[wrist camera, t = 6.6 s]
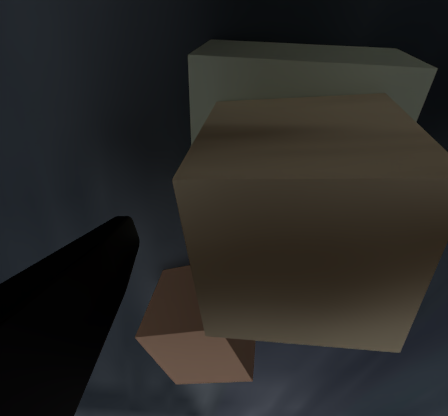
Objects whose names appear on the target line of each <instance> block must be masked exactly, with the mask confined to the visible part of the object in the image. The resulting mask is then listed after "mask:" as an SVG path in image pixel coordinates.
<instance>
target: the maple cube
mask: <svg viewBox="0 0 448 416" xmlns="http://www.w3.org/2000/svg"><path fill="white" fill-rule="evenodd" d="M172 182H173V187H174V191H175V196H176V201H177V206H178V210H179V215H180V220H181V224H182V229H183V234H184V238H185V243H186V248H187V252H188V257H189V262H190V267H191V271H192V276H193V281H194V285H195V290H196V295H197V299H198V304H199V309H200V314H201V318H202V323H203V328H204V332H205V336H208V337H220V338H232V339H244V340H255V341H267V342H279V343H291V344H303V345H314V346H326V347H338V348H350V349H362V350H373V351H385V352H397V353H400V351H401V349H402V347H403V344H404V342H405V340H406V337H407V335H408V333H409V330H410V328H411V326H412V323H413V321H414V319H415V316H416V314H417V312H418V309H419V307H420V305H421V302H422V300H423V298H424V295H425V293H426V291H427V288H428V286H429V284H430V281H431V279H432V277H433V274H434V272H435V270H436V267H437V265H438V263H439V260H440V258H441V256H442V253H443V251H444V249H445V246H446V244H447V242H448V152H447V151H446V150H445V149H444V148H443V147H442V146H441V145H440V144H439V143H438V142H437V141H435V140H434V139H433V138H432V137H431V136H430V135H429V134H428V133H427V132H426V131H425V130H424V129H423V128H422V127H421V126H420V125H419V124H418V123H417V122H416V121H414V120H413V119H412V118H411V117H410V116H409V115H408V114H407V113H406V112H405V111H404V110H403V109H402V108H401V107H400V106H399V105H398V104H397V103H396V102H395V101H393V100H392V99H391V98H390V97H389V96H388V95H387V94H386V93H377V94H357V95H337V96H318V97H298V98H278V99H258V100H238V101H218V102H216V104H215V105H214V107H213V109H212V111H211V112H210V114H209V116H208V118H207V119H206V121H205V123H204V125H203V126H202V128H201V130H200V132H199V133H198V135H197V137H196V139H195V140H194V142H193V144H192V146H191V147H190V149H189V151H188V153H187V154H186V156H185V158H184V159H183V161H182V163H181V165H180V166H179V168H178V170H177V172H176V173H175V175H174V177H173V179H172Z"/></svg>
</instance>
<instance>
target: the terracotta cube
mask: <svg viewBox="0 0 448 416" xmlns="http://www.w3.org/2000/svg"><path fill="white" fill-rule="evenodd" d="M135 338H136V339H137V341H138V342H139V343H140V344H141V345H142V346H143V347H144V348H145V350H146V351H147V352H148V353H149V354H150V355H151V356H152V358H153V359H154V360H155V361H156V362H157V363H158V364H159V366H160V367H161V368H162V369H163V370H164V371H165V372H166V373H167V375H168V376H169V377H170V378H171V379H172V380H173V381H174V383H175V384H196V383H221V382H246V381H253V369H254V355H255V340H244V339H232V338H220V337H208V336H205V332H204V328H203V323H202V318H201V314H200V309H199V304H198V299H197V295H196V290H195V285H194V281H193V276H192V271H191V267H190V265H189V266H183V267H178V268H172V269H167V270H163V272H162V274H161V276H160V279H159V281H158V284H157V286H156V288H155V291H154V293H153V295H152V298H151V300H150V303H149V305H148V307H147V310H146V312H145V315H144V317H143V319H142V322H141V324H140V327H139V329H138V331H137V334H136V336H135Z"/></svg>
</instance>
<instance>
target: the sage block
mask: <svg viewBox="0 0 448 416" xmlns="http://www.w3.org/2000/svg"><path fill="white" fill-rule="evenodd" d="M437 69H438V68H436V67H434V66H432V65H430V64H427V63H425V62H423V61H421V60H419V59H417V58H415V57H413V56H411V55H409V54H407V53H405V52H403V51H401V50H399V49H396V48H377V47H356V46H336V45H315V44H295V43H274V42H254V41H233V40H213V39H211V40H209V41H208V42H206V43H205V44H203V45H202V46H200V47H199V48H197V49H196V50H194V51H193V52H191V53H190V54H188V73H189V99H190V124H191V146H192V144H193V142H194V140H195V139H196V137H197V135H198V133H199V132H200V130H201V128H202V126H203V125H204V123H205V121H206V119H207V118H208V116H209V114H210V112H211V111H212V109H213V107H214V105H215V104H216V102H218V101H238V100H258V99H278V98H298V97H318V96H337V95H357V94H377V93H386V94H387V95H388V96H389V97H390V98H391V99H392V100H393V101H395V102H396V103H397V104H398V105H399V106H400V107H401V108H402V109H403V110H404V111H405V112H406V113H407V114H408V115H409V116H410V117H411V118H412V119H413V120H414V121H416V122H417V119H418V117H419V114H420V112H421V109H422V107H423V104H424V102H425V99H426V97H427V94H428V92H429V89H430V87H431V84H432V82H433V79H434V77H435V74H436V72H437Z"/></svg>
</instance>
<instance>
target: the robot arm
mask: <svg viewBox="0 0 448 416" xmlns="http://www.w3.org/2000/svg"><path fill="white" fill-rule="evenodd" d="M138 248H139V236H138V234H137V231H136V228H135V225H134V222H133V220H132V218H131V217H129V216H116V217H114V218H112V219H111V220H109V221H107V222H106V223H104V224H102V225H100V226H99V227H97V228H95V229H94V230H92V231H90V232H88V233H87V234H85V235H83V236H82V237H80V238H78V239H76V240H75V241H73V242H71V243H70V244H68V245H66V246H64V247H63V248H61V249H59V250H58V251H56V252H54V253H52V254H51V255H49V256H47V257H46V258H44V259H42V260H40V261H39V262H37V263H35V264H34V265H32V266H30V267H28V268H27V269H25V270H23V271H22V272H20V273H18V274H16V275H15V276H13V277H11V278H10V279H8V280H6V281H4V282H3V283H1V284H0V416H74V415H75V412H76V410H77V407H78V405H79V403H80V400H81V398H82V395H83V393H84V391H85V388H86V386H87V383H88V381H89V379H90V376H91V374H92V371H93V369H94V367H95V364H96V362H97V359H98V357H99V355H100V352H101V350H102V347H103V345H104V343H105V340H106V338H107V335H108V333H109V331H110V328H111V326H112V323H113V321H114V319H115V316H116V314H117V311H118V309H119V307H120V304H121V302H122V299H123V297H124V294H125V292H126V289H127V286H128V282H129V279H130V275H131V272H132V269H133V265H134V262H135V258H136V255H137V251H138Z"/></svg>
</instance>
